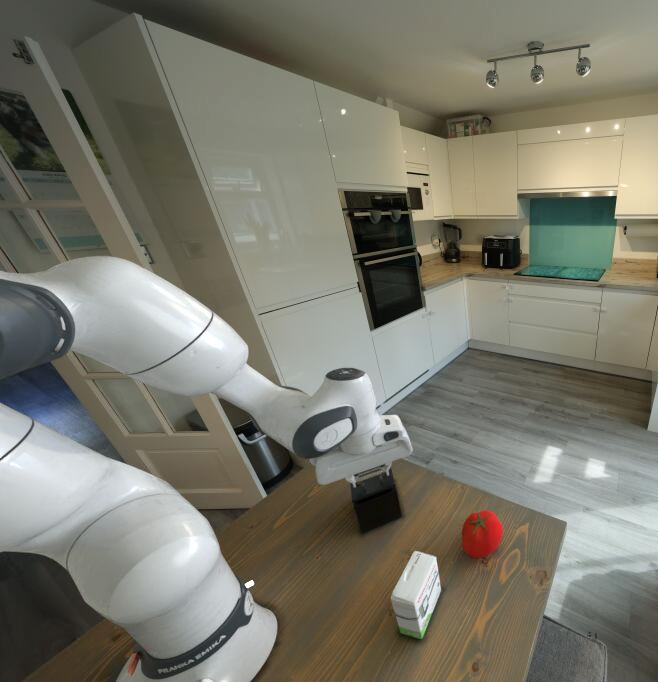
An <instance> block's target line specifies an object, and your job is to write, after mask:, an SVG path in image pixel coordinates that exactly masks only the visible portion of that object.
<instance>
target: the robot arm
mask: <svg viewBox="0 0 658 682" xmlns="http://www.w3.org/2000/svg"><path fill="white" fill-rule="evenodd" d="M57 350H58V351H57ZM69 352H74V353H77V354H80V355H83V356H86V357H88V358H89V359H90V358H91V359H93V360H95V361H97V362H99V363H101V364H103V365H105V366H107V367H109V368H111V369H113V370H115V371H117V372H118V373H121V374H123V375H126V376H127V377H128V378H131V379H133V380H135V381H138V382H140V383H141V384H145V385H147V386H149V387H152V388H154V389H158V390H160V391H163V392H166V393H170V394H172V395H173V394H174V395H177V396H181V397H184V398H195V397H201V396H205V395H209V394H211V395H215V396H217V397H219V398H220V399H222V400H225V401H226V402H228V403H230V404H231V405H234V406H235V407H237V408H239V409H241V410H242V411H244V412H246V414H247V415H248V417H249V419H250V421H251V422H252V425H253V426H254V427H255V429H256V430H257V431H258V432H260V433H261V434H263V435H264V436H267V437H269V438H271V439H272V440H274V441H275V442H276V443H278V444H279V445H281V446H283V447H284V448H285V449H287V450H288V451H290V452H291V453H293V454H295V455H296V456H297V457H299V458H301V459H305V460H308V461H309V463H310V464H311V466H314V469H315V478H316V482H317V484H318V485H321V486H325V485H329V484H332V483H334V482H338V481H341V480H343V479H345V481H346V482H348V483H353V486H354V488H355V487H358V486H361V484H360V482H359V478H358V476H356V477H355V476H353V475H355V474H358V473H361V472H363V471H366V470H369V469H372V468H375V467H378V466H381V465H384V464H385V466H384V467H382V468H381V470H382V475H383V477H385V476H388V475H389V472H388V470H389V469H390V467H391V468H392V464H393V462H396V461H398V460H400V459H402V458H407V457H409V456H411V455H412V453H413V451H414V450H413V445H412V443H411V440H410V436H409V434H408V431H407V429H406V428H405V426H404V425H403V423H402V420H401V418H400V417H399V415H398V414H379V413H378V411H377V398H376V394H375V390H374V387H373V384H372V381H371V379H370V377H369V375H368V374H367V372H365V371H364V370H362V369H358V368H355V367H340V368H335V369H333V370H330V371H328V372H327V373H326V374H325V375H324V379H323V381H322V383H321V385H320V386H319V388H318V389H317V390H316V391H315V392H314V393H313V394H312V395H309V394H308V393H306V392H305V391H304V390H301V389H299V388H297V387H293V386H289V385H288V386H287V385H280V384H276V383H274V382H273V381H271V380H270V379H268V378H267V377H265V376H264V375H263V374H262V373H260V372H259V371H257V370H256V369H254V368H253V367H251V366H250V365H249V364H248V363H247V362H248V359H249V346H248V344H247V343H246V341H245V340H244V339H243V338H242V337H241V335H240V334H239V333H238V332H237V331H236V330H235V329H234V328H233V327H232V326H231V325H230V324H229V323H228V322H227V321H225V319H223V318H222V317H221V316H219V315H218V314H216V312H214V311H213V310H212V309H210V308H209V307H208V306H206V305H205V304H203V303H202V302H201V301H199V300H198V299H196V298H195V297H193V296H192V295H190V294H189V293H188V292H186V291H184V290H183V289H181V288H180V287H178V286H176V285H174V284H173V283H171V281H168V280H166V279H164V278H163V277H161V276H160V275H158V274H156V273H154V272H152V271H150V270H149V269H146V268H145V267H143V266H141V265H139V264H137V263H135V262H133V261H131V260H128V259H125V258H122V257H117V256H110V255H92V256H83V257H78V258H74V259H69V260H66V261H64V262H61V263H58V264H56V265H54V266H51V267H50V268H48V269H47V270H44V271H43V270H40V271H37V272H30V273H20V272H8V271H6V270H5V268H3V267H1V266H0V381H3V380H4V379H6V378H8V377H11V376H13V375H15V374H18V373H20V372H24V371H26V370H29V369H32V368H35V367H38V366H41V365H44V364H47V363H50V362H54V361H56V360H58V359H61V358H63V357H64V356H66V355H67V354H68V353H69ZM3 552H12V553H13V552H14V553H30V554H37V555H41V556H45V557H47V558H49V559H52V560H54V561H55V562H57V563H58V564H59V566H62V567H63V568H64V569H65V570H66V571H67V572H68V574H69V575H70V577H71V578H72V580H73V582H74V584H75V586H76V588H77V590H78V592H79V593H80V595H81V597H82V599H83V601H84V602H85V603H86V604H87V605H88V606H89V607H90V608H92V609H93V611H96V612H97V613H98V614H99V615H100V616H102V617H103V618H105V619H106V620H107V621H109V622H111V623H112V624H114V625H117V626H119V627H120V628H122V629H124V630H125V632H127V633H128V635H129V636H130V637H132V638H133V640H134V641H135V643H134V646H133V648H132V651H131V653H132V654H131V655H130V657H128V659H127V661H126V663H124V664H121V665H118V666H115V667H114V668H113V670H112V672H111V674H110V675H109V678H108V679H107V681H106V682H252V680H253V679H254V678H255V677H256V675H257V674H258V673H259V672H260V671H261V669H262V667H263V666H264V665H265V663H266V661H267V660H268V658H269V656H270V655H271V652H272V650H273V647H274V645H275V642H276V638H277V635H278V621H277V617H276V615H275V614H274V612H273V611H272V610H271V609H269V608H266V607H264V606H261V605H260V604H258V603H257V602H255V601H254V599H253V595H252V593H251V591H250V590H249V588H250V587H252V586H254V585H255V582H254V581H253V580H250V581H248V582H246V583H245V582H244V581H243V580H242V578H241V577H240V576H239V575H237V574H235V573H234V572H233V570H232V569H231V567H230V565H229V564H228V562H227V560H226V559H225V557H224V556H223V553H222V550H221V546H220V544H219V541H218V538H217V536H216V533H215V531H214V529H213V527H212V525H211V524H210V522H209V520H208V519H207V518H206V517H205V516H204V515H203V514H202V513H201V512H200V511H199V510H198V509H197V508H196V507H195V506H193V504H192V503H191V502H190V501H188V500H187V499H186V498H185V497H184V496H183V495H182V494H181V493H180V492H179V491H178V490H177V489H176V488H174V487H173V485H171V483H169V482H168V481H166V480H164V479H162V478H160V477H158V476H155V475H153V474H152V473H149V472H147V471H146V470H145V471H144V470H143V469H141V468H138V467H135V466H133V465H130V464H127V463H125V462H122V461H120V460H117V459H113V458H111V457H107V456H106V455H103V454H101V453H99V452H97V451H95V450H93V449H92V448H89V447H87V446H86V445H83V444H82V443H79V442H78V441H76V440H74V439H73V438H70V437H68V436H66V435H64V434H62V433H61V432H58V431H57V430H55V429H52V428H51V427H49V426H47V425H45V424H43V423H41V422H39V421H37V420H35V419H34V418H31V417H30V416H28V415H25V414H24V413H22V412H20V411H18V410H16V409H14V408H11V407H10V406H8V405H6V404H4V403H2V402H0V553H3Z"/></svg>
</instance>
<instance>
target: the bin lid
mask: <svg viewBox="0 0 658 682" xmlns="http://www.w3.org/2000/svg"><path fill="white" fill-rule="evenodd" d="M384 466H385V464H384V465H381V466H378V467H375V468H372V469H369V470H366V471H363V472H361V473H358V474H355V475H353V476H355V477H356V476H358V478H359V482H360V484H361V486H358V487H355V488H354V486H353V483H350V482H349V483H350V496H351V497H350V498H351V503H352V504H354V502H357V501H359V500H362V499H364V498H367V497H370V496H372V495H375V494H377V493H380V492H382V491H385V490H387V489H390V488H392V487H395V486H396V487H397V484H396V481H395V477H394V474H393V470H392V466H391V467H390V469H389V470H388V472H389V475H388V476H385V477H383V475H382V470H381V468H382V467H384Z"/></svg>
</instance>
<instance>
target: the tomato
mask: <svg viewBox="0 0 658 682" xmlns="http://www.w3.org/2000/svg"><path fill="white" fill-rule="evenodd" d="M503 534H504V528H503V524H502V522H501V521H500V520H499V518H498V516H497V515H496V514H495V513H494V511H491V510H486V509H484V510H481V511H477V512H471V514H469V515H468V516H467V517H466V518H465V520H464V522H463V525H462V529H461V547H462V549H463V550H464V552H465V553H466V554H467V555H468V556H469V557H471V558H473V559H480V558H486V557H487V556H490V555H491V554H493V553H494V552H496V550H497V549H498V548H499V545H500V543H501V542H502V538H503Z"/></svg>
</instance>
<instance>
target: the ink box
mask: <svg viewBox="0 0 658 682" xmlns="http://www.w3.org/2000/svg"><path fill="white" fill-rule="evenodd" d="M441 592H442V587H441V581H440V573H439V567H438V561H437V556H436V555H432V554H429V553H425V552H422V551H417V550H415V551H413V553H412V554H411V556H410V558H409V560H408V562H407V563H406V566H405V567H404V569H403V571H402V573H401V575H400V577H399V579H398V580H397V582H396V585H395V587H394V589H393V590H392V593H391V596H390V601H391V605H392V608H393V611H394V616H395V619H396V622H397V626H398V629H399V632H400V634H402V635H406V636H409V637H412V638H416V639H418V640H422V639H423V638H424V636H425V633H426V630H427V628H428V625H429V623H430V620H431V617H432V615H433V612H434V610H435V607H436V604H437V602H438V599H439V597H440V594H441Z"/></svg>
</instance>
